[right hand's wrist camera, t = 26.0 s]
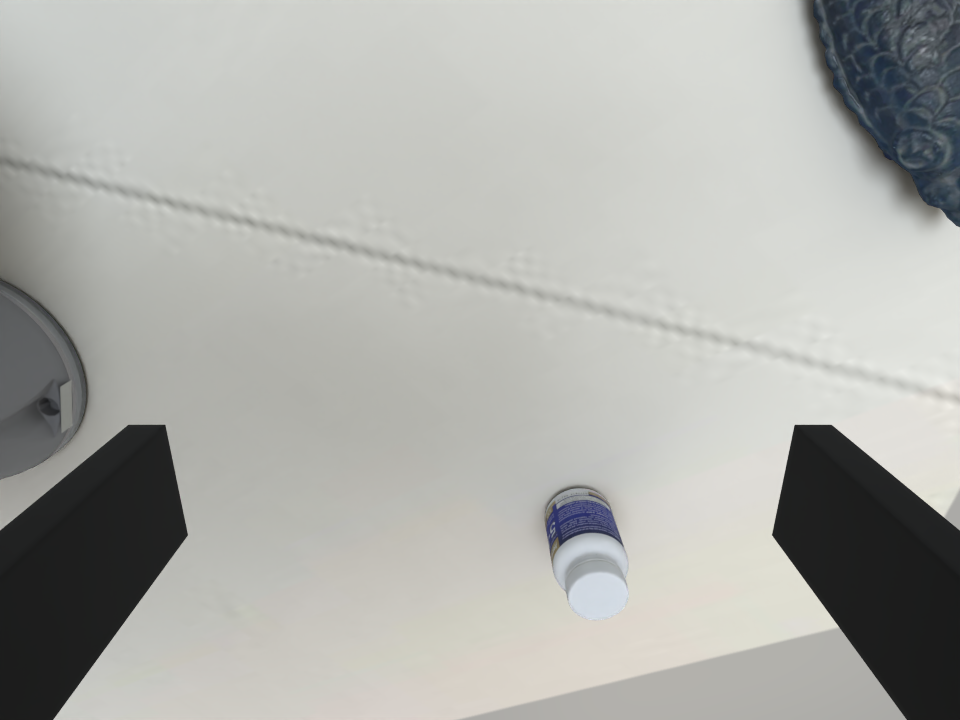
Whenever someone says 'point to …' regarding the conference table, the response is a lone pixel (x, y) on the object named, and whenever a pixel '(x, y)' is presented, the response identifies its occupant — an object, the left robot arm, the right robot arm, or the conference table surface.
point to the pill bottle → (587, 553)
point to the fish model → (902, 84)
